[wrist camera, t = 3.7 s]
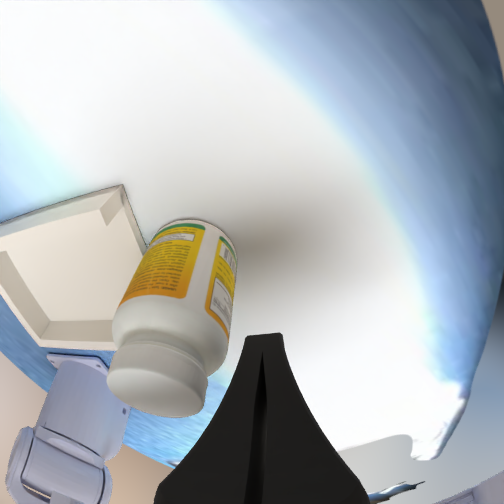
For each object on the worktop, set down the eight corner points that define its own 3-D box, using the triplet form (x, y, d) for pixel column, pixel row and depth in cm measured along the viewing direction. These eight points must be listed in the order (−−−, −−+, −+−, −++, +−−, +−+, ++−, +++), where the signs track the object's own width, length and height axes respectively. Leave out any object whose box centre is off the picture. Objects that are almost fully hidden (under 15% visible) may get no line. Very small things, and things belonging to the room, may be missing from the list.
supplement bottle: (255, 246, 18) (251, 397, 10) (209, 300, 20) (188, 433, 12) (173, 198, 16) (105, 336, 8) (138, 262, 19) (82, 391, 11)
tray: (177, 318, 21) (169, 350, 19) (52, 322, 23) (39, 346, 20) (122, 184, 16) (99, 208, 13) (-6, 225, 17) (-28, 246, 15)
